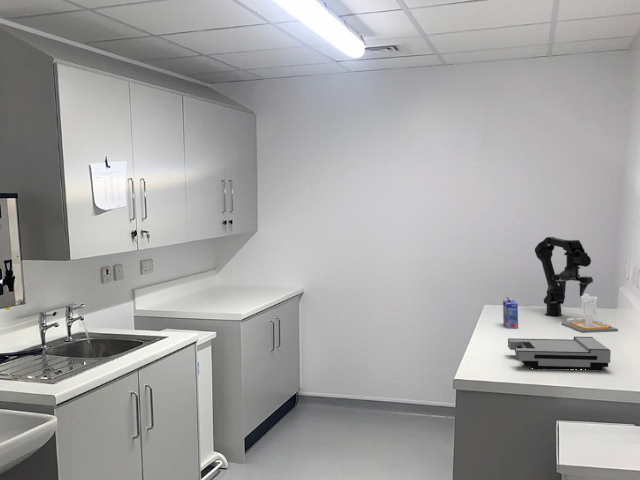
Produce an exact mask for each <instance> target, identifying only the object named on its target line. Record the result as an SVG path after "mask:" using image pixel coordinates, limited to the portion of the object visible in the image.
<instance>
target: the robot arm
mask: <svg viewBox="0 0 640 480" xmlns="http://www.w3.org/2000/svg"><path fill="white" fill-rule="evenodd" d="M555 247H558V248H562V250H564V251H565V252H564V253H563V255H564V256H566V263H565V264H566V265H565V266H564V270H563V271H561V272H560V273H556V272H555V269H554V265H553V262H552V257H553V255H554V254H553V251H554V250H555ZM585 250H586V249H584V246H583V245H582V243H581V241H580V240H579V239H570V240H569V239H563V238H559V237H555V236H546V237H545V238H544V239H543V240H542V241H540V242H539V243H538V244H536V246H535V248H534V252H535V255H536V257H537V259H538V260H539V261H540V262H541V264H542V269H543V272H544V275H545V279H546V283H547V284H546V285H547V290H546V295H545V297H544V299H543V303H544V304H546V313H545V314H544V315H545V316H550V317H551V316H552V317H560V316H563V314H562V306H561V305H564V303H565V299H566V287H567V286H566V285H567V282H568V281H574V282H575V281H576V282H579V283H578V285H579V297H580V298H581V296H584V294H585V291H586V288H587V287H588V285H590V284H591V283H594V278H593V276H587V275H586V276H581V274H580V273H579V272H580V269H581V267H584V268H585V267H589V266H590V265H591V263H592V259H591V257H590V256H589V255H588V252H586V251H585Z"/></svg>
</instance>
